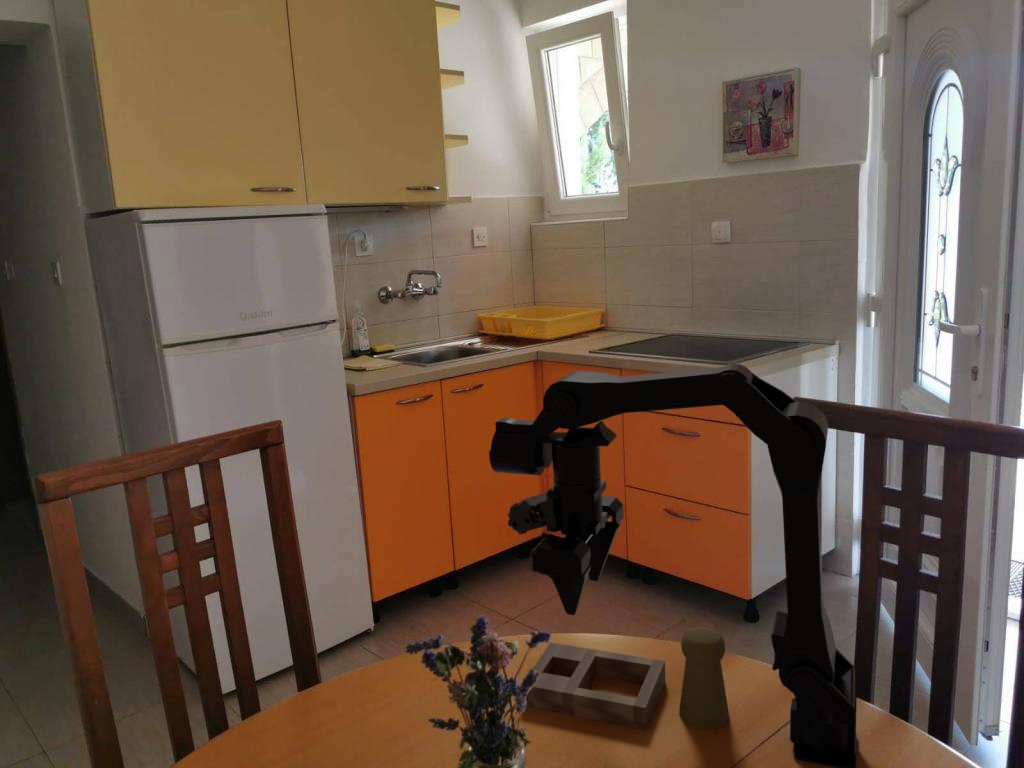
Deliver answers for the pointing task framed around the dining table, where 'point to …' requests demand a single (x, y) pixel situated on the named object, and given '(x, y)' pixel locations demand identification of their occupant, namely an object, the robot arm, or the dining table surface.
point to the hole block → (574, 673)
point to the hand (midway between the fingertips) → (582, 596)
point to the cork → (703, 679)
